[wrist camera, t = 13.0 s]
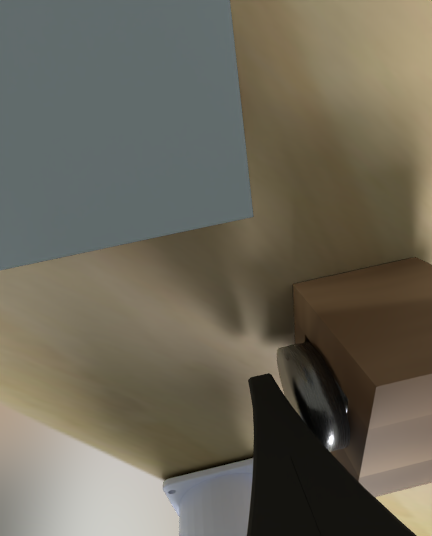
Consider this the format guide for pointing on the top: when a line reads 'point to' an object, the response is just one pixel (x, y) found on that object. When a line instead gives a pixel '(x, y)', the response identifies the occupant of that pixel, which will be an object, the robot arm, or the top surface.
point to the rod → (314, 394)
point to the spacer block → (116, 124)
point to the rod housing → (377, 366)
